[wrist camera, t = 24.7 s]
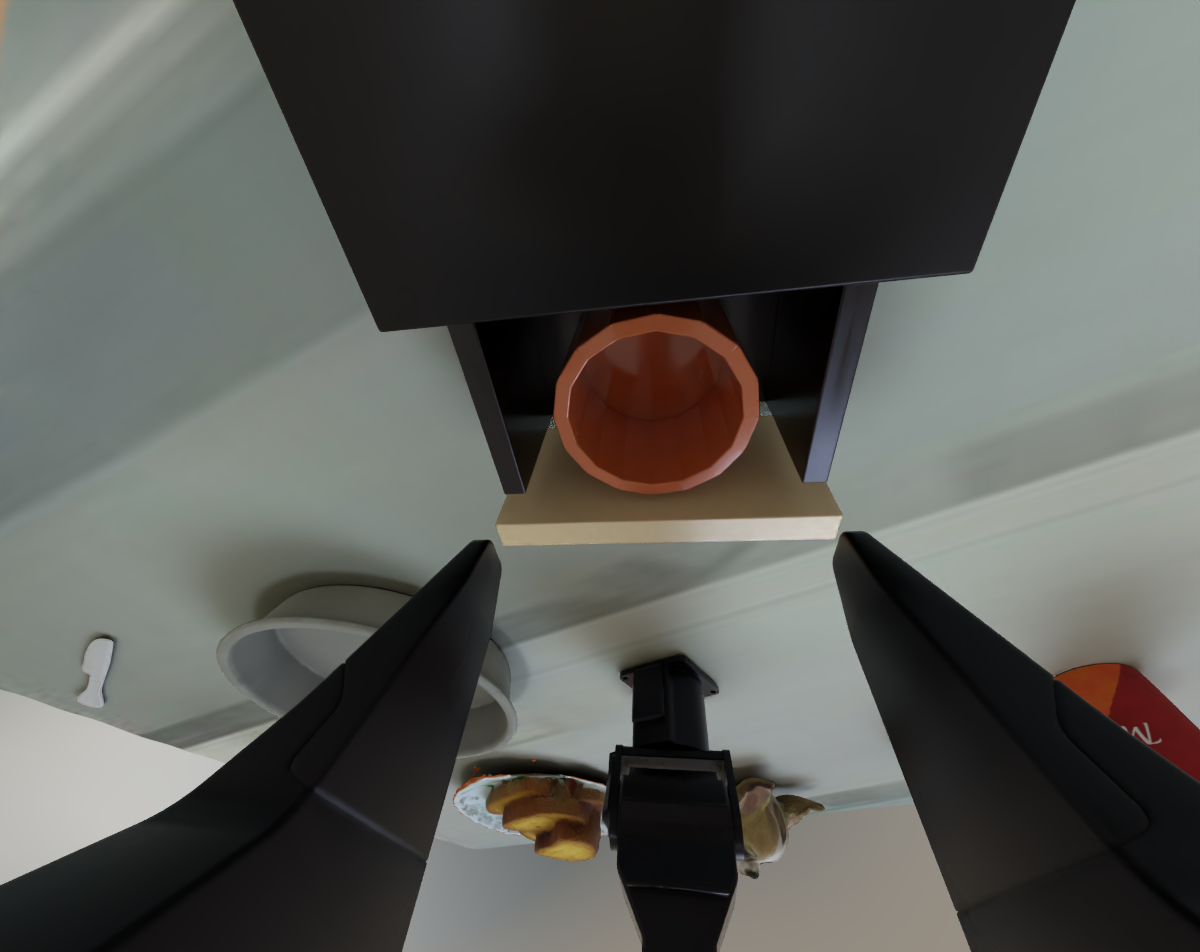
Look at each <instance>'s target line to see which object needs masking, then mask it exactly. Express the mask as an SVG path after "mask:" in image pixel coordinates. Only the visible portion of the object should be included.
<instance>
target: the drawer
mask: <svg viewBox="0 0 1200 952" xmlns="http://www.w3.org/2000/svg"><path fill="white" fill-rule="evenodd" d="M878 283H879V282H877V283H867V284H857V285H847V286H838V287H828V288H818V289H808V290H798V291H788V292H778V293H768V294H758V295H748V296H738V297H728V298H718V299H719V300H720V302H721V303H722V305H723V306H724V308H725V310H726V312H727V314H728V316H729V318H730V320H731V321H732V323H733V325H734V327H735V329H736V331H737V333H738V336H739V338H740V340H741V342H742V344H743V347H744V349H745V351H746V353H747V355H748V358H749V360H750V362H751V364H752V366H753V369H754V371H755V373H756V375H757V378H758V381H759V402H763V401H766V403H767V405H768V407H769V409H770V412H771V414H772V415H767V416H759V419H758V422H757V424H756V426H755V429H754V431H753V433H752V435H751V438H750V440H749V442H748V444H747V447H746V449H745V450H744V452H743V453H742V454H741V455H740V456H739V457H738V458H736V459H735V460H734V461H733V462H732V463H731V464H730V465H729V466H728V467H727V468H726V469H725V470H724V471H723V472H722V473H721V474H720V475H718V476H716V477H714V478H712V479H710V480H708V481H706V482H703V483H701V484H699V485H697V486H695V487H693V488H691V489H688V490H687V489H686V490H685V491H677V492H669V493H662V494H654V495H653V494H651V495H649V494H643V493H637V492H631V491H625V490H619V489H618V488H617V489H616V488H614V487H612V486H610V485H609V484H607V483H605V482H603V481H601V480H599V479H597V478H595V477H593V476H591V475H589V474H588V473H586V472H585V470H584V469H583V468H582V467H581V466H580V465H579V464H578V463H577V462H576V461H575V460H574V459H573V457H572V456H571V455H570V454H569V453H568V452H567V451H566V449H565V448H564V446H563V443H562V440H561V437H560V435H559V432H558V429H557V428H553V429H548V426H549V423H550V420H551V417H552V415H553V411H554V400H555V388H556V382H557V379H558V376H559V373H560V371H561V368H562V365H563V363H564V360H565V357H566V354H567V352H568V349H569V346H570V344H571V341H572V338H573V336H574V333H575V330H576V329H577V327H578V325H579V323H580V321H581V319H582V317H583V315H584V313H585V312H578V313H568V314H558V315H548V316H538V317H528V318H518V319H508V320H498V321H488V322H478V323H468V324H458V325H448V329H449V332H450V335H451V338H452V341H453V344H454V347H455V350H456V353H457V356H458V358H459V361H460V364H461V367H462V370H463V373H464V376H465V379H466V382H467V385H468V388H469V391H470V393H471V396H472V399H473V402H474V405H475V408H476V411H477V414H478V417H479V420H480V423H481V426H482V429H483V431H484V434H485V437H486V440H487V443H488V446H489V449H490V452H491V455H492V458H493V461H494V464H495V466H496V469H497V472H498V475H499V478H500V481H501V484H502V487H503V490H504V493H505V494H507V496H506V499H505V502H504V504H503V507H502V509H501V512H500V514H499V517H498V519H497V522H496V528H497V531H498V533H499V536H500V539H501V541H502V544H503V546H522V545H572V544H622V543H671V542H721V541H771V540H821V539H836V536H837V533H838V530H839V527H840V523H841V520H842V517H843V515H842V513H841V511H840V509H839V507H838V505H837V503H836V501H835V499H834V497H833V495H832V493H831V491H830V489H829V487H828V485H827V483H826V482H827V480H828V476H829V472H830V468H831V464H832V461H833V457H834V453H835V449H836V445H837V441H838V437H839V434H840V430H841V426H842V422H843V418H844V414H845V410H846V407H847V403H848V399H849V395H850V391H851V387H852V383H853V380H854V376H855V372H856V368H857V364H858V360H859V357H860V353H861V349H862V345H863V341H864V337H865V333H866V330H867V326H868V322H869V318H870V314H871V310H872V306H873V303H874V299H875V295H876V291H877V287H878Z"/></svg>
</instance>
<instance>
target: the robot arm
mask: <svg viewBox="0 0 1200 952" xmlns="http://www.w3.org/2000/svg"><path fill="white" fill-rule="evenodd" d="M833 570H834V574H835V578H836V582H837V586H838V589H839V593H840V597H841V601H842V605H843V609H844V613H845V617H846V621H847V625H848V628H849V632H850V636H851V639H852V642H853V645H854V648H855V650H856V653H857V656H858V658H859V661H860V663H861V666H862V669H863V671H864V674H865V676H866V679H867V682H868V684H869V687H870V689H871V692H872V695H873V697H874V700H875V702H876V705H877V708H878V710H879V713H880V715H881V718H882V720H883V723H884V726H885V728H886V731H887V733H888V736H889V739H890V741H891V744H892V746H893V749H894V752H895V754H896V757H897V759H898V762H899V765H900V767H901V770H902V772H903V775H904V778H905V780H906V783H907V785H908V788H909V791H910V793H911V796H912V798H913V801H914V804H915V806H916V809H917V811H918V814H919V817H920V819H921V822H922V824H923V827H924V829H925V832H926V835H927V837H928V840H929V842H930V845H931V848H932V850H933V853H934V855H935V858H936V861H937V863H938V865H939V868H940V871H941V873H942V876H943V879H944V881H945V884H946V887H947V889H948V891H949V894H950V897H951V899H952V902H953V904H954V907H955V909H956V911H958V913H957V916H958V919H959V921H960V924H961V926H962V929H963V931H964V934H965V937H966V939H967V942H968V945H969V947H970V950H971V952H1200V782H1199V781H1197V780H1196V779H1194V778H1193V777H1192V776H1190V775H1189V774H1187V773H1186V772H1184V771H1183V770H1181V769H1180V768H1178V767H1177V766H1176V765H1174V764H1173V763H1171V762H1170V761H1169V760H1167V759H1166V758H1164V757H1163V756H1161V755H1160V754H1159V753H1157V752H1156V751H1154V750H1153V749H1151V748H1150V747H1149V746H1147V745H1146V744H1144V743H1143V742H1141V741H1140V740H1139V739H1137V738H1136V737H1134V736H1133V735H1132V734H1130V733H1129V732H1127V731H1126V730H1125V729H1123V728H1122V727H1121V726H1119V725H1118V724H1117V723H1115V722H1114V721H1113V720H1111V719H1110V718H1108V717H1107V716H1106V715H1104V714H1103V713H1102V712H1100V711H1099V710H1098V709H1096V708H1095V707H1094V706H1092V705H1091V704H1090V703H1088V702H1087V701H1086V700H1084V699H1083V698H1082V697H1080V696H1079V695H1078V694H1077V693H1075V692H1074V691H1073V690H1071V689H1070V688H1069V687H1067V686H1066V685H1065V684H1064V683H1062V682H1061V681H1060V680H1057V679H1054V678H1053V676H1052V675H1051V674H1050V673H1049V672H1048V671H1046V670H1045V669H1044V668H1042V667H1041V666H1040V665H1039V664H1037V663H1036V662H1035V661H1033V660H1032V659H1031V658H1029V657H1028V656H1027V655H1026V654H1024V653H1023V652H1022V651H1020V650H1019V649H1018V648H1016V647H1015V646H1014V645H1013V644H1011V643H1010V642H1009V641H1007V640H1006V639H1005V638H1003V637H1002V636H1001V635H1000V634H998V633H997V632H996V631H994V630H993V629H992V628H990V627H989V626H988V625H987V624H985V623H984V622H983V621H981V620H980V619H979V618H977V617H976V616H975V615H974V614H972V613H971V612H970V611H968V610H967V609H966V608H964V607H963V606H962V605H961V604H959V603H958V602H957V601H955V600H954V599H953V598H951V597H950V596H949V595H948V594H946V593H945V592H944V591H942V590H941V589H940V588H938V587H937V586H936V585H934V584H933V583H932V582H931V581H929V580H928V579H927V578H925V577H924V576H923V575H921V574H920V573H919V572H918V571H916V570H915V569H914V568H912V567H911V566H910V565H908V564H907V563H906V562H905V561H903V560H902V559H901V558H899V557H898V556H897V555H895V554H894V553H893V552H892V551H890V550H889V549H888V548H886V547H885V546H884V545H882V544H881V543H880V542H879V541H877V540H876V539H875V538H873V537H872V536H871V535H869V534H868V533H866V532H863V531H849V532H843V533H842V534H841V535H840V538H839V541H838V544H837V547H836V550H835V554H834V557H833ZM501 571H502V568H501V562H500V560H499V557H498V555H497V552H496V550H495V547H494V545H493V543H492V542H491V541H490V540H473V541H472V542H470V543H469V544H468V545H467V546H466V547H465V548H464V549H463V550H462V551H461V552H459V553H458V554H457V555H456V556H455V557H454V558H453V559H452V560H451V561H450V562H449V563H448V564H447V565H446V566H445V567H444V568H442V569H441V570H440V571H439V572H438V573H437V574H436V575H435V576H434V577H433V578H432V579H431V580H430V581H429V582H428V583H427V584H426V585H424V586H423V587H422V588H421V589H420V590H419V591H418V592H417V593H416V594H415V595H414V596H413V597H412V598H411V599H410V600H409V601H407V602H406V603H405V604H404V605H403V606H402V607H401V608H400V609H399V610H398V611H397V612H396V613H395V614H394V615H393V616H392V617H390V618H389V619H388V620H387V621H386V622H385V623H384V624H383V625H382V626H381V627H380V628H379V629H378V630H377V631H376V632H375V633H373V634H372V635H371V636H370V637H369V638H368V639H367V640H366V641H365V642H364V643H363V644H362V645H361V646H360V647H359V648H358V649H357V650H355V651H354V652H353V653H352V654H351V655H350V656H349V657H348V658H347V659H346V660H345V663H342V664H340V665H339V666H338V667H337V668H336V669H335V670H334V671H333V672H332V673H331V674H330V675H329V676H328V677H327V678H326V679H324V680H323V681H322V682H321V683H320V684H319V685H318V686H317V687H316V688H315V689H313V690H312V691H311V692H310V693H309V694H308V695H307V696H306V697H305V698H304V699H302V700H301V701H300V702H299V703H298V704H297V705H296V706H294V707H293V708H292V709H291V710H290V711H288V712H287V713H286V714H285V715H284V716H283V717H281V718H280V719H279V720H278V721H277V722H276V723H274V724H273V725H272V726H271V727H270V728H268V729H267V730H266V731H265V732H264V733H262V734H261V735H260V736H259V737H258V738H256V739H255V740H254V741H253V742H251V743H250V744H249V745H248V746H247V747H245V748H244V749H243V750H242V751H241V752H239V753H238V754H237V755H236V756H235V757H233V758H232V759H231V760H230V761H229V762H227V763H226V764H225V765H224V766H223V767H221V768H220V769H219V770H218V771H216V772H215V773H214V774H213V775H212V776H210V777H209V778H208V779H207V780H206V781H204V782H203V783H202V784H201V785H199V786H198V787H197V788H196V789H194V790H193V791H192V792H190V793H189V794H187V795H186V796H185V797H183V798H182V799H180V800H179V801H177V802H176V803H174V804H173V805H171V806H169V807H168V808H166V809H165V810H163V811H161V812H159V813H158V814H156V815H154V816H152V817H150V818H148V819H146V820H144V821H142V822H140V823H138V824H136V825H133V826H131V827H129V828H127V829H124V830H122V831H120V832H118V833H116V834H114V835H111V836H109V837H107V838H104V839H102V840H100V841H98V842H96V843H93V844H91V845H89V846H87V847H85V848H82V849H80V850H78V851H76V852H74V853H71V854H69V855H67V856H64V857H62V858H60V859H58V860H56V861H53V862H51V863H49V864H47V865H44V866H42V867H40V868H38V869H36V870H33V871H31V872H29V873H27V874H25V875H22V876H20V877H18V878H16V879H14V880H12V881H9V882H7V883H4V884H2V885H0V952H402V949H403V945H404V942H405V939H406V935H407V932H408V928H409V924H410V920H411V917H412V914H413V910H414V907H415V903H416V899H417V896H418V893H419V889H420V885H421V882H422V878H423V875H424V871H425V868H426V861H427V859H428V856H429V852H430V849H431V846H432V842H433V839H434V835H435V832H436V828H437V825H438V821H439V818H440V814H441V810H442V807H443V803H444V800H445V796H446V793H447V789H448V786H449V782H450V779H451V775H452V772H453V768H454V764H455V761H456V757H457V754H458V750H459V747H460V743H461V740H462V736H463V733H464V729H465V726H466V722H467V718H468V715H469V711H470V708H471V704H472V701H473V697H474V694H475V690H476V687H477V683H478V680H479V676H480V672H481V669H482V665H483V662H484V658H485V655H486V651H487V648H488V644H489V640H490V636H491V632H492V626H493V621H494V615H495V609H496V603H497V596H498V590H499V584H500V578H501ZM620 679H621V680H622V681H623V682H625V683H626V684H627V685H629V686H630V687H631V688H633V700H632V722H633V747H626V746H623V745H616V749H615V752H612V753H610V756H609V771H608V781H607V787H606V792H605V798H604V804H603V810H602V822H603V823H604V825H605V826H606V827H607V829H608V836H609V838H610V848H611V850H612V851H617V869H618V874H619V878H620V883H621V887H622V891H623V895H624V899H625V902H626V904H627V907H628V909H629V912H630V915H631V918H632V920H633V923H634V926H635V928H636V931H637V934H638V936H639V939H640V942H641V944H642V952H719V951H720V948H721V945H722V942H723V939H724V936H725V933H726V930H727V927H728V924H729V921H730V918H731V915H732V913H733V910H734V903H735V897H736V889H737V882H738V873H737V863H736V861H741V862H743V861H744V839H743V829H742V820H741V813H740V807H739V801H738V796H737V790H736V784H735V778H734V773H733V767H732V761H731V756H730V751H729V750H722V751H709V744H708V734H707V724H706V714H705V704H704V697H706V696H710V695H715V694H718V693H719V688H718V686H717V685H716V684H715V683H714V682H713V681H712V680H711V679H709V678H708V677H707V676H706V675H705V674H704V673H703V672H702V671H701V670H700V669H698V668H697V667H696V666H695V665H694V664H693V663H692V662H691V661H690V660H689V659H687V658H686V657H685V656H682V655H678V656H674V657H671V658H667V659H664V660H660V661H657V662H653V663H650V664H646V665H643V666H639V667H636V668H632V669H629V670H625V671H622V672H620Z"/></svg>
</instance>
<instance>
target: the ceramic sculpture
mask: <svg viewBox="0 0 1200 952" xmlns="http://www.w3.org/2000/svg"><path fill="white" fill-rule="evenodd" d="M774 787H775V784H774V782H771V781H767V780H763V779H760V778H747V779H744V780H743V781H741V782H740V784H739V785H737V786H736V790H737V796H738V801H739V807H740V813H741V820H742V829H743V839H744V861H743V862H741V861H736V863H737V871H739V872H740V873H741V874H743V875H747V876H750V877H751V878H753V879H756V878H758V876H759V872H760V864H763V863H770V862H774V861H778V860H779V859H780V858H781V857H782V856H783V854H784V852H785V850H786V847H787V844H788V830H789V829H790V827H792V826H793V825H795V824H797V823H798V822H800V820H801V819H802V816H805V815H807V814H808V813H809V811H810V810H813V811H823V810H824V809H825V808H824V806H823V805H822V804H819V803H817V802H814V801H811V800H808V799H805V798H802V797H799V796H795V795H782V796H778V797H774V796H773V795H772V789H773V788H774Z"/></svg>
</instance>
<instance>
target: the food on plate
mask: <svg viewBox="0 0 1200 952" xmlns="http://www.w3.org/2000/svg"><path fill="white" fill-rule="evenodd" d="M532 761H533V762H534V761H536V759H535V760H532ZM473 768H474V769H475V773H474V774H473V776H474V775H475V774H476V772H477V771H478V770H479V769H480V768H479V767H473ZM605 792H606V786H605V785H604V784H601V783H594V782H593V781H587V780H586V779H580V778H576V777H573V776H566V775H562V774H555V775H553V774H539V773H530V774H516V775H510V774H509V775H502V774H500V775H496V776H492V775H491V774H488V776H487V777H486V774H484V775H483V776H481V777H474V778H470V779H469V780H468V781H467V782H466V783H464V784H463V785H462V786H461V788H459V789H457V791H456V794H454V799H453V802H454V805H455V806H454V807H456V808H457V809H458V810H459V812H460V813H461V814H463V815H465V816H467V817H468V818H469V819H470V820H472V821H475V822H477V823H479V824H481V825H484V826H485V827H486V828H493V829H495V830H496V831H499V832H501V833H509V834H513V835H518V836H521V835H523V836H525V837H526V838H528V839H531V840H533V841H535V853H537V854H539V855H543V856H545V857H549V858H554V859H561V860H566V861H580V860H588V859H590V858H593V857H595V855H596V853H597V851H598V849H599V841H600V838H601V836H604V835H608V829H607V827H606V826H605V825H604V823H603V822H602V810H603V804H604V798H605Z"/></svg>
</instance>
